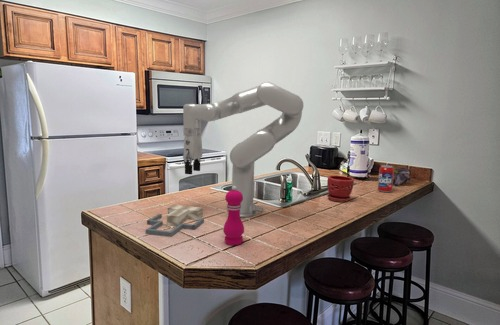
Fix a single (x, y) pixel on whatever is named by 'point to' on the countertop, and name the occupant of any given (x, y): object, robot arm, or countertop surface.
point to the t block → (183, 214)
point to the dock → (157, 224)
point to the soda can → (385, 178)
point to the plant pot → (339, 188)
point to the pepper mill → (233, 218)
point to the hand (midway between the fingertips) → (192, 172)
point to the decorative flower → (401, 176)
